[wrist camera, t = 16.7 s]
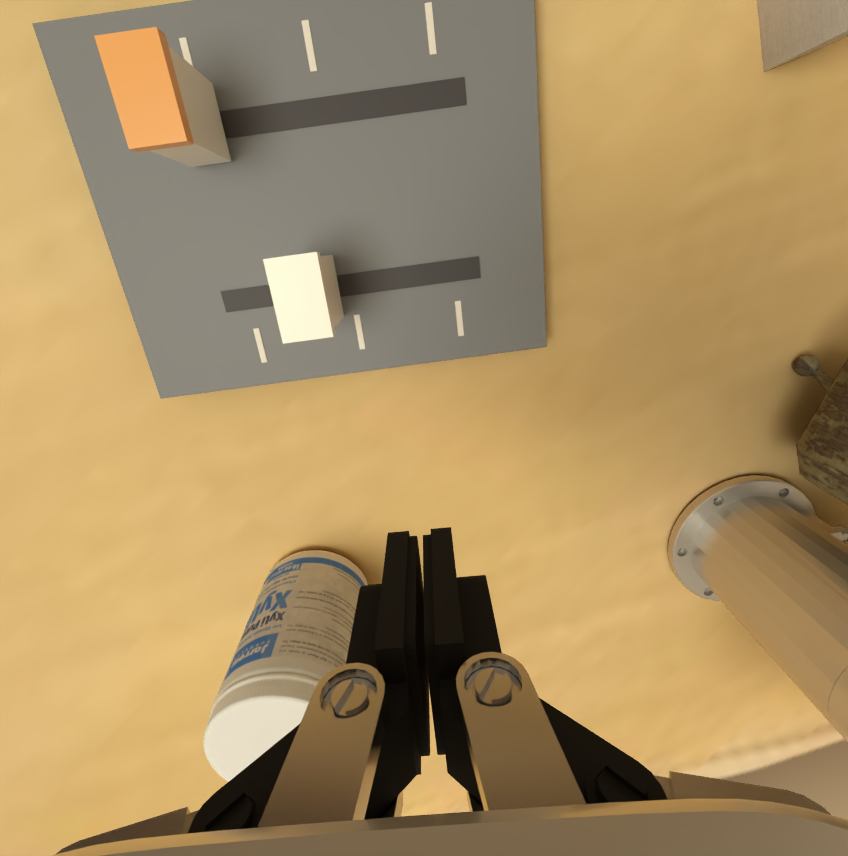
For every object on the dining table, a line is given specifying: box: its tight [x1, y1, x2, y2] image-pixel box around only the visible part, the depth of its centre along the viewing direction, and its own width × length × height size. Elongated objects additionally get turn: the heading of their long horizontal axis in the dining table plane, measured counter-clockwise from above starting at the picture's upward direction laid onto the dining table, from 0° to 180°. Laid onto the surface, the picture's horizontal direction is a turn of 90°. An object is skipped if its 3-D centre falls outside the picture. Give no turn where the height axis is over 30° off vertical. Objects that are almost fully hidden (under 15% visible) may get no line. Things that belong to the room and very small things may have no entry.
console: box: [33, 0, 547, 399], centre depth 31 cm, size 28×22×2 cm
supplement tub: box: [203, 550, 368, 782], centre depth 36 cm, size 10×10×15 cm
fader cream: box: [263, 252, 344, 344], centre depth 28 cm, size 3×4×7 cm, turn 7°
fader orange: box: [94, 27, 231, 167], centre depth 25 cm, size 3×4×7 cm, turn 7°
